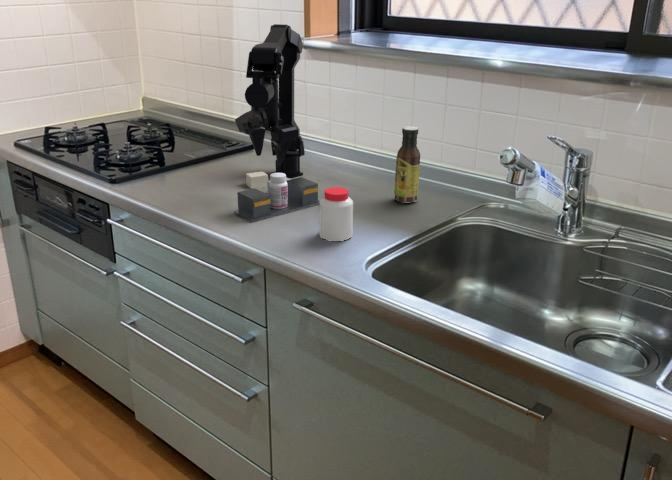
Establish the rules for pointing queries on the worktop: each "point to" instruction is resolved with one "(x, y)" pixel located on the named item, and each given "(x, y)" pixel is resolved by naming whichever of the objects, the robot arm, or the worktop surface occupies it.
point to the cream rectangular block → (256, 179)
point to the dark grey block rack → (258, 203)
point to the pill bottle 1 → (278, 191)
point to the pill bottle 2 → (336, 214)
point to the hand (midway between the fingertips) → (269, 159)
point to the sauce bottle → (407, 167)
